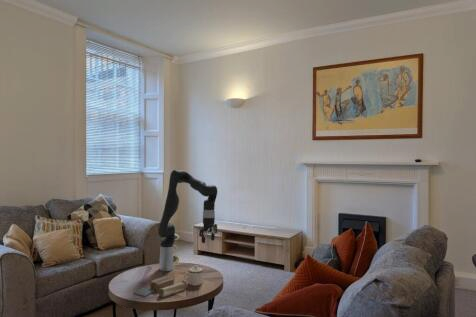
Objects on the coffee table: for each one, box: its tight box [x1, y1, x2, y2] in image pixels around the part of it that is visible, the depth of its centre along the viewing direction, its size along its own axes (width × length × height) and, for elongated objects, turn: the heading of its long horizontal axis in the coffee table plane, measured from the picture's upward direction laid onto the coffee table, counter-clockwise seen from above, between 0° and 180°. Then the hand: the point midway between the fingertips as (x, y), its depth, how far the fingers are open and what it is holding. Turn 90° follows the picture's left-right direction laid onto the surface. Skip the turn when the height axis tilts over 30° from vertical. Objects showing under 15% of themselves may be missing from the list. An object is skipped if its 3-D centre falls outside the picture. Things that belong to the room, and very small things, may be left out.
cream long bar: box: [158, 280, 187, 298], centre depth 203 cm, size 3×18×5 cm, turn 139°
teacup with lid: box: [183, 264, 204, 287], centre depth 218 cm, size 12×9×12 cm
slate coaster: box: [133, 287, 156, 298], centre depth 202 cm, size 9×9×1 cm
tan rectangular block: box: [149, 275, 175, 293], centre depth 210 cm, size 8×12×5 cm, turn 139°
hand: (208, 241), depth 214 cm, fingers open, 8 cm apart
